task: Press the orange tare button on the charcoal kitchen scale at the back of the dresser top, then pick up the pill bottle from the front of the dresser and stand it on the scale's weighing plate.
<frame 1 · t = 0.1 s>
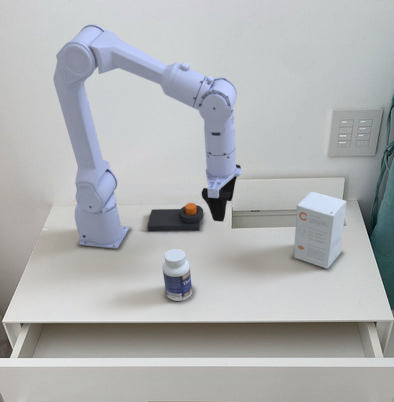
hand: (222, 209, 119), 10 cm above the table, tool pointing down, fingers open, 7 cm apart
pill bottle: (179, 293, 118), on the table
scale: (175, 222, 135), on the table
small box: (316, 256, 123), on the table
tare button: (190, 209, 132), point 4 cm above the table, slide at 0.1 cm
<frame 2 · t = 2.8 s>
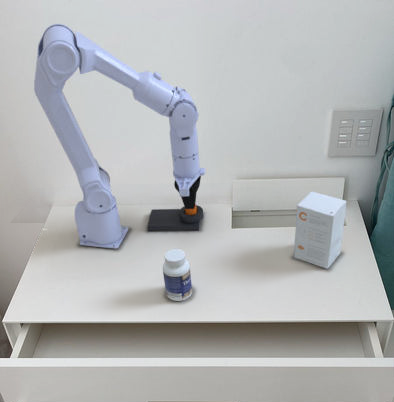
hand: (190, 207, 131), 4 cm above the table, tool pointing down, fingers closed, pressing on tare button
tare button: (190, 209, 132), point 3 cm above the table, slide at 0.1 cm, touching gripper
everything else where it was.
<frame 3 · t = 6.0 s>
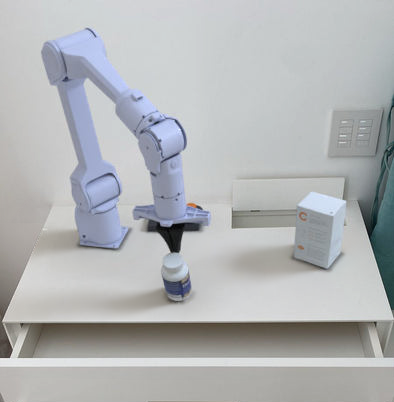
hand: (176, 252, 111), 10 cm above the table, tool pointing down, fingers closed
tare button: (190, 209, 132), point 4 cm above the table, slide at 0.1 cm
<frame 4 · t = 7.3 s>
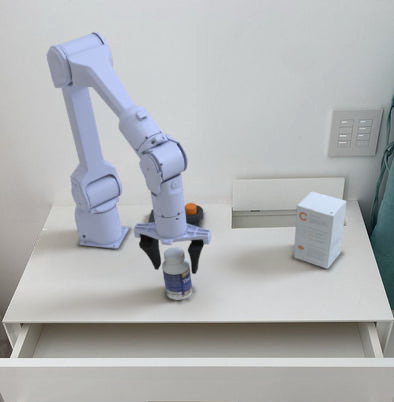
hand: (176, 268, 113), 6 cm above the table, tool pointing down, fingers open, 7 cm apart
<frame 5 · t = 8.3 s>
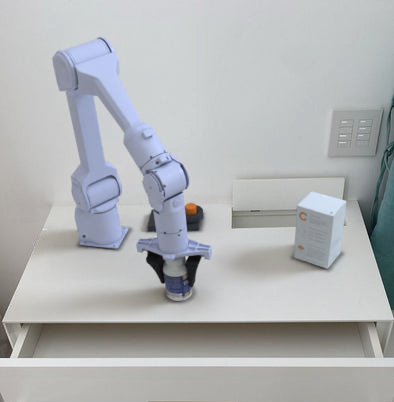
hand: (178, 282, 115), 3 cm above the table, tool pointing down, fingers closed on pill bottle, 5 cm apart
pill bottle: (179, 293, 118), on the table, touching gripper
everything else where it was.
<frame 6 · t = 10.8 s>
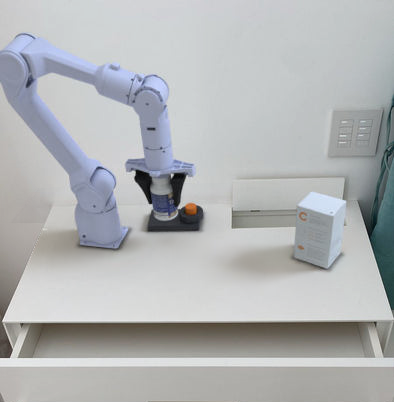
hand: (164, 203, 123), 10 cm above the table, tool pointing down, fingers closed on pill bottle, 5 cm apart
pill bottle: (166, 215, 125), point 7 cm above the table, touching gripper
everything else where it was.
when the fingers open (4 cm above the table, at t = 13.5 s): pill bottle stays where it is, resting on scale.
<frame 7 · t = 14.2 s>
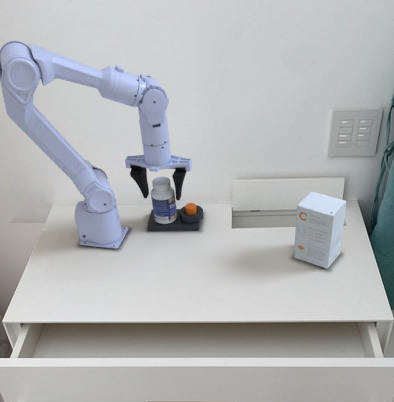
hand: (162, 197, 130), 7 cm above the table, tool pointing down, fingers open, 7 cm apart
pill bottle: (166, 219, 134), point 1 cm above the table, touching scale
everything else where it was.
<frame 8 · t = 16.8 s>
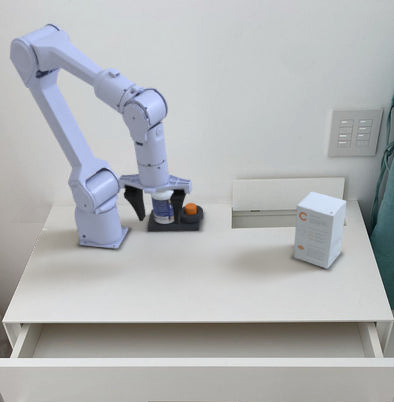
hand: (160, 220, 118), 10 cm above the table, tool pointing down, fingers open, 7 cm apart
nothing on the table moved.
at the end: tare button pushed in 1.0 cm at the most during the clip, back to where it started at the end; pill bottle 0.6 cm from the target spot on the scale, point 1.2 cm above the scale's base; pill bottle touching scale; pill bottle tilted 0° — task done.
